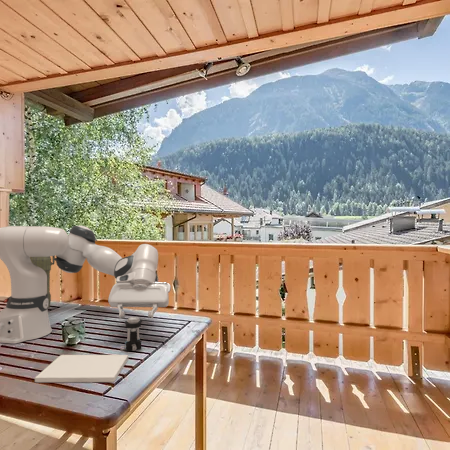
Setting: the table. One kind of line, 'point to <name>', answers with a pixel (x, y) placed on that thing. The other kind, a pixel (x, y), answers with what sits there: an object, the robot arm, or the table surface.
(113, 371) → the board
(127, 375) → the table surface
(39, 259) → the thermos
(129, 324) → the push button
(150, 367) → the table surface
